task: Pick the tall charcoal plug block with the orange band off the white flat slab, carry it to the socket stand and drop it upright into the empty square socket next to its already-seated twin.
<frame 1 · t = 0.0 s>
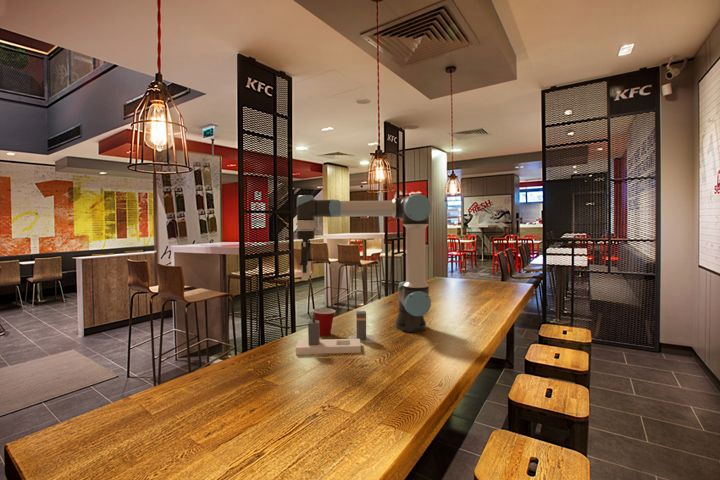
hand: (306, 277, 163), 28 cm above the table, fingers open, 13 cm apart
socket stand: (328, 350, 151), on the table
white flat slab: (361, 339, 163), on the table
plug: (361, 338, 163), resting on white flat slab
plastic cup: (324, 335, 171), on the table
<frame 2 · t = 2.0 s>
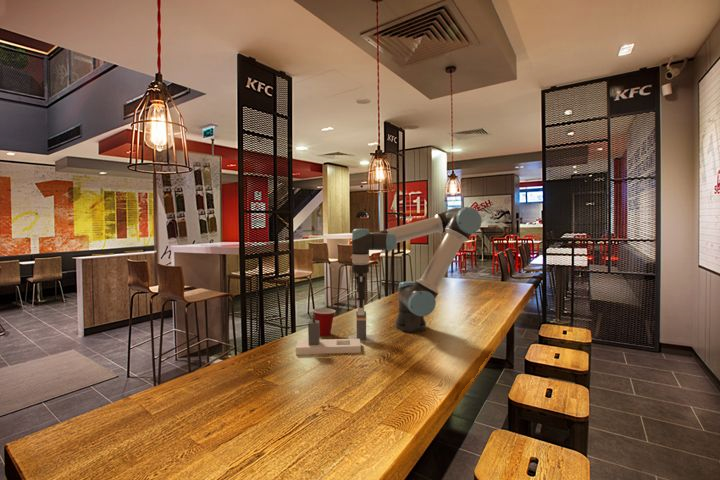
hand: (360, 311, 163), 13 cm above the table, fingers open, 13 cm apart
nothing on the table moved.
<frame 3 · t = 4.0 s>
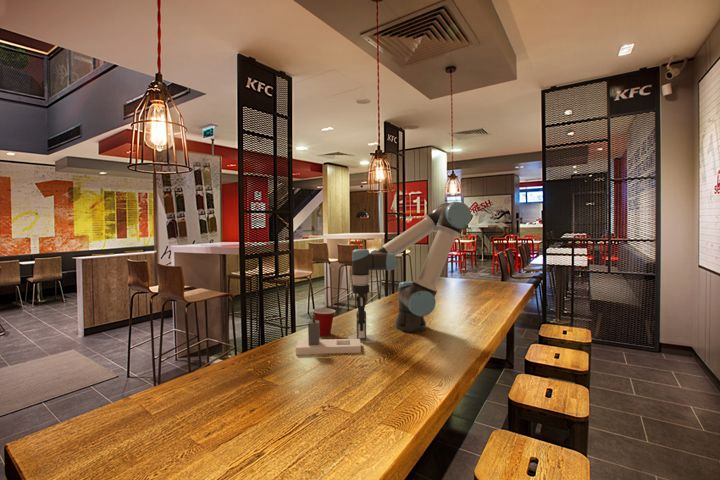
hand: (361, 335, 163), 2 cm above the table, fingers closed on plug, 4 cm apart
plug: (361, 338, 163), resting on white flat slab, touching gripper
everything else where it was.
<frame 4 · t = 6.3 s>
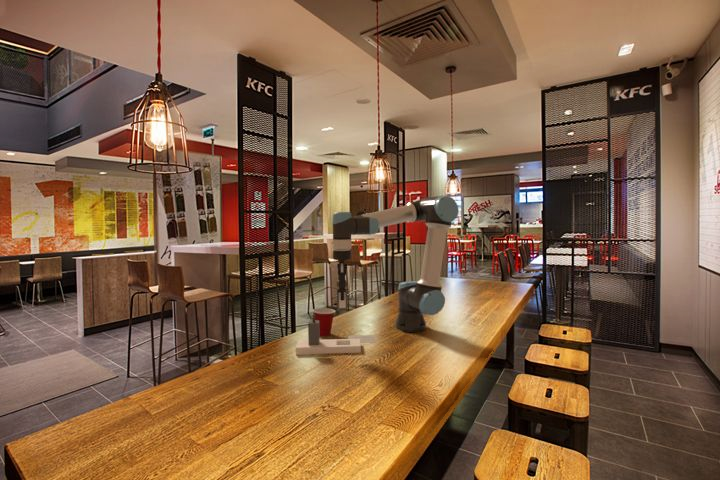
hand: (342, 306, 150), 18 cm above the table, fingers closed on plug, 4 cm apart
plug: (342, 309, 150), point 17 cm above the table, touching gripper
everything else where it was.
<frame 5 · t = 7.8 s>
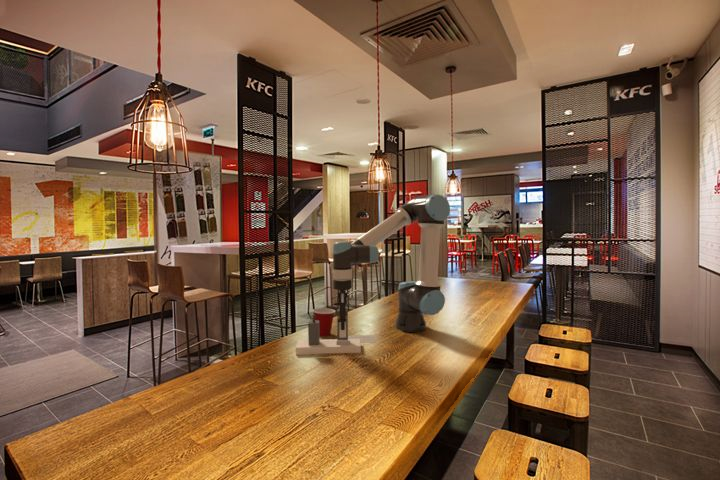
hand: (342, 335, 151), 6 cm above the table, fingers closed on plug, 4 cm apart
plug: (342, 338, 151), point 5 cm above the table, touching gripper
everything else where it was.
when the fingers open (4 cm above the table, at t = 8.9 s): plug drops 2 cm, resting in socket stand.
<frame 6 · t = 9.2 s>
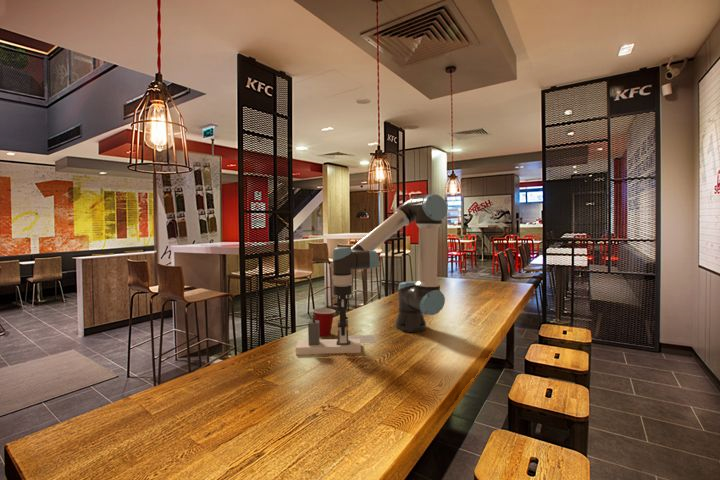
hand: (343, 338, 151), 5 cm above the table, fingers open, 9 cm apart
plug: (343, 349, 151), resting in socket stand
everything else where it was.
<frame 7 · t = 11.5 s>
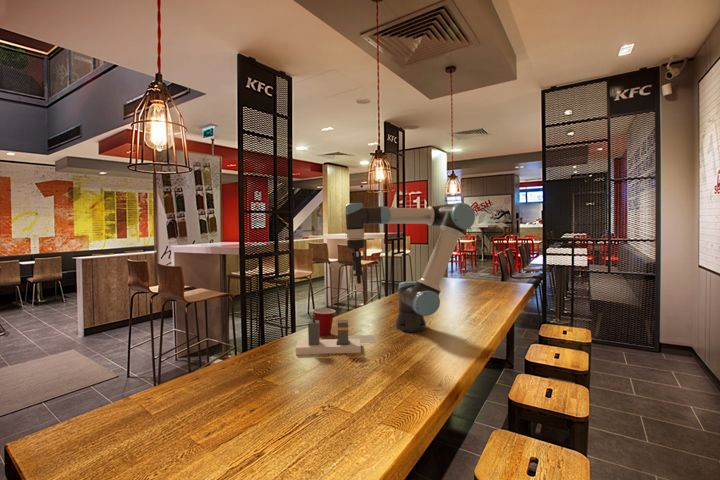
hand: (358, 287, 158), 24 cm above the table, fingers open, 13 cm apart
nothing on the table moved.
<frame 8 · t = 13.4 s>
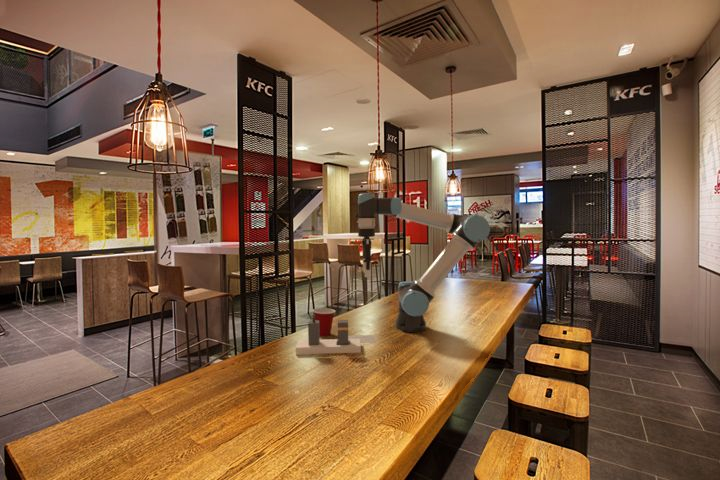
hand: (366, 274, 166), 29 cm above the table, fingers open, 13 cm apart
nothing on the table moved.
at the end: plug 0.1 cm from the target spot on the socket stand, point 0.0 cm above the socket stand's base; plug tilted 0°; the gripper is holding nothing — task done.
